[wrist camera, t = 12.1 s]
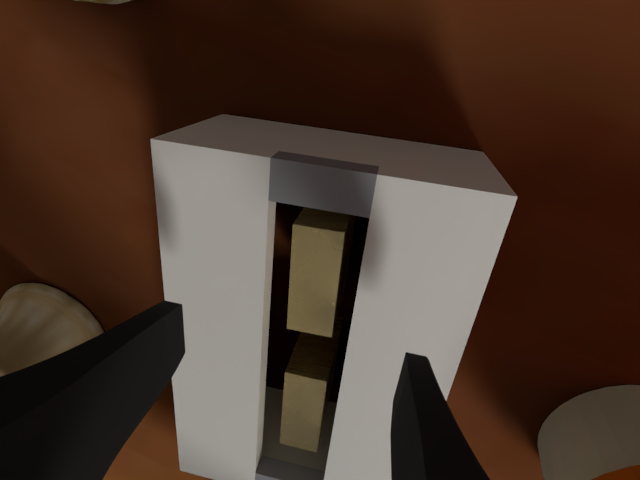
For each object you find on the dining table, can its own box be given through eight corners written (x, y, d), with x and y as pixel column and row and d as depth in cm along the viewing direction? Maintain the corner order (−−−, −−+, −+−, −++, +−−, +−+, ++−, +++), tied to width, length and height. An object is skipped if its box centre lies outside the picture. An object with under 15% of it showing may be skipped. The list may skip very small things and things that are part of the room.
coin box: (401, 429, 25) (400, 530, 20) (224, 387, 27) (180, 470, 21) (483, 151, 17) (517, 196, 12) (222, 113, 19) (150, 138, 13)
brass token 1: (347, 278, 21) (331, 337, 17) (311, 271, 22) (286, 328, 17) (359, 190, 19) (344, 232, 15) (318, 184, 19) (292, 224, 15)
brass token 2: (333, 380, 25) (316, 452, 20) (302, 373, 25) (279, 443, 21) (342, 316, 22) (326, 381, 18) (308, 309, 23) (284, 372, 18)
